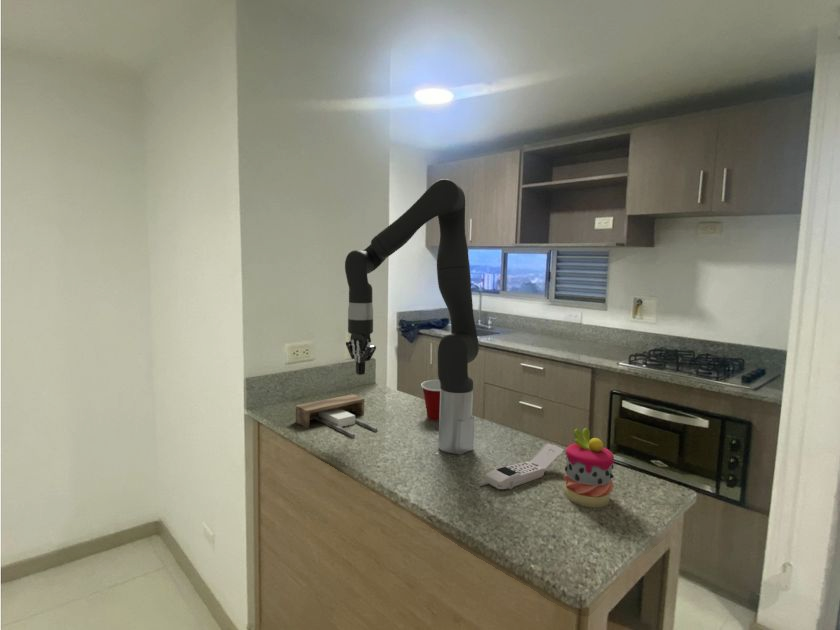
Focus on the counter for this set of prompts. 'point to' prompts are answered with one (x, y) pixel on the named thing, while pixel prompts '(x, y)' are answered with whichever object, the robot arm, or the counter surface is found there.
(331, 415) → the cream rectangular block
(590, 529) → the counter surface
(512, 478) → the mobile phone
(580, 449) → the cake
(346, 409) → the overhang
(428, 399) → the plastic cup
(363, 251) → the robot arm
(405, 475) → the counter surface
